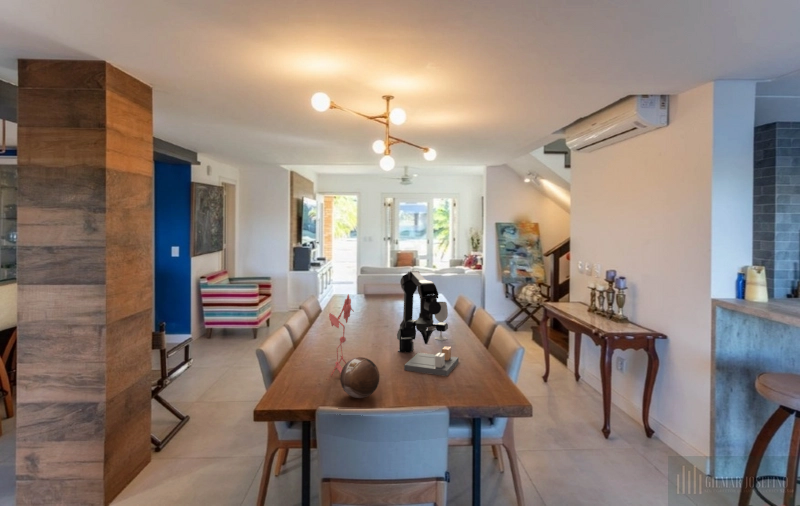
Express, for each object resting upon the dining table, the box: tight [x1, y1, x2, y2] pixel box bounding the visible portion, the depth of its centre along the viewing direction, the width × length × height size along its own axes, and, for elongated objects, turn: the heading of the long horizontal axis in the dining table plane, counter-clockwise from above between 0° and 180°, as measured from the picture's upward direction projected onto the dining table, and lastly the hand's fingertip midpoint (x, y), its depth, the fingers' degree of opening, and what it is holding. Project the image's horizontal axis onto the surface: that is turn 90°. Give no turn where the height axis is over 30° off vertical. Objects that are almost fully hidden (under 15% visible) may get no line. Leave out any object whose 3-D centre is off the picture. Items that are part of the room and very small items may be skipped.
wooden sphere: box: [339, 356, 381, 399], centre depth 166 cm, size 15×15×15 cm
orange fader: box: [441, 345, 452, 360], centre depth 204 cm, size 3×5×5 cm, turn 158°
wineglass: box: [434, 301, 449, 341], centre depth 249 cm, size 8×8×21 cm
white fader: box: [435, 352, 445, 368], centre depth 194 cm, size 3×5×5 cm, turn 158°
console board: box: [403, 352, 460, 377], centre depth 202 cm, size 20×20×3 cm
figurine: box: [327, 293, 355, 381], centre depth 192 cm, size 15×26×35 cm, turn 175°
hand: (426, 344), depth 196 cm, fingers closed
